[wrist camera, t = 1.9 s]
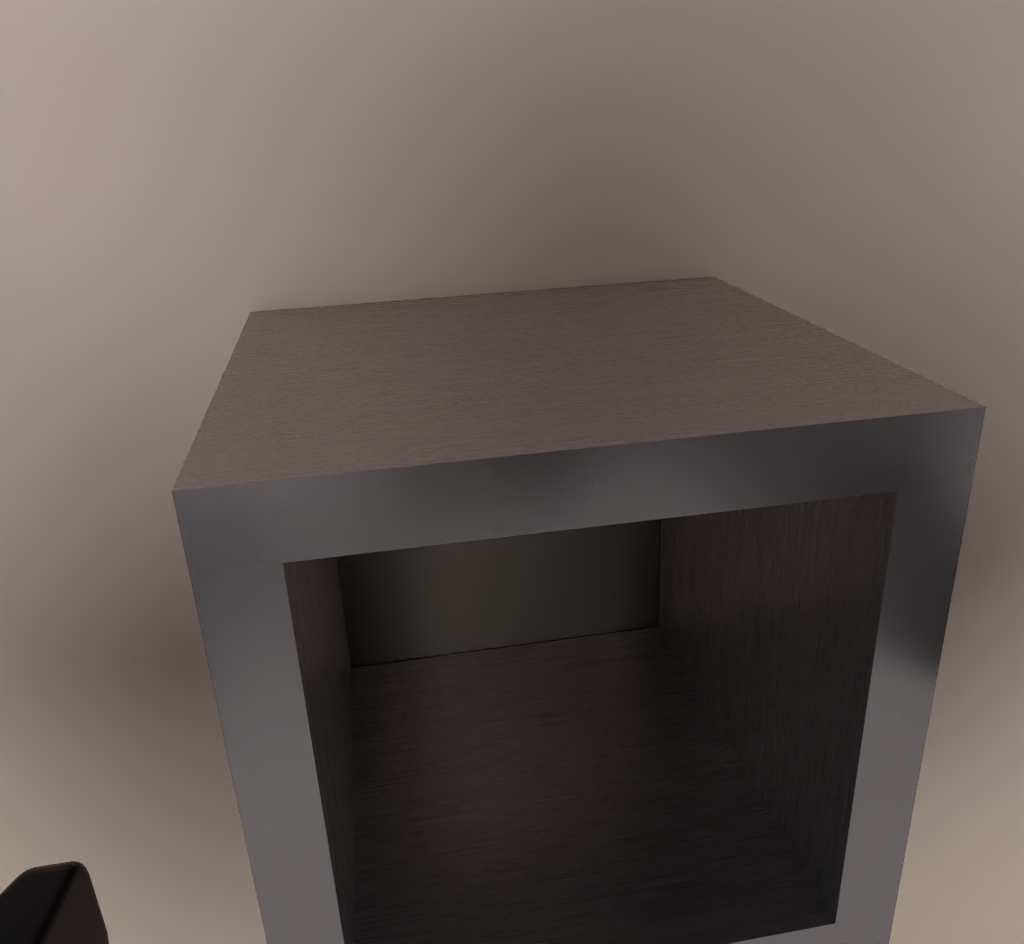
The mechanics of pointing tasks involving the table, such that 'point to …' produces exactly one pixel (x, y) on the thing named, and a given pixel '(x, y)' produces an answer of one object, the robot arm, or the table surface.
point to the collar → (592, 659)
